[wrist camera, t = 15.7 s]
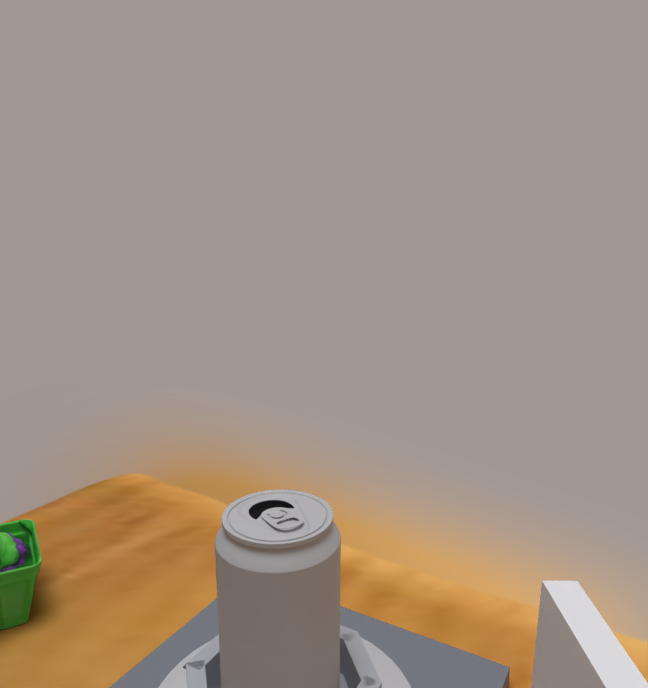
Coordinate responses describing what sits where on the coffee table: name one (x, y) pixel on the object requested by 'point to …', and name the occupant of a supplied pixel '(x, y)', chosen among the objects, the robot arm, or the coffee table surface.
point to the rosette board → (355, 658)
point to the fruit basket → (17, 571)
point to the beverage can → (278, 592)
